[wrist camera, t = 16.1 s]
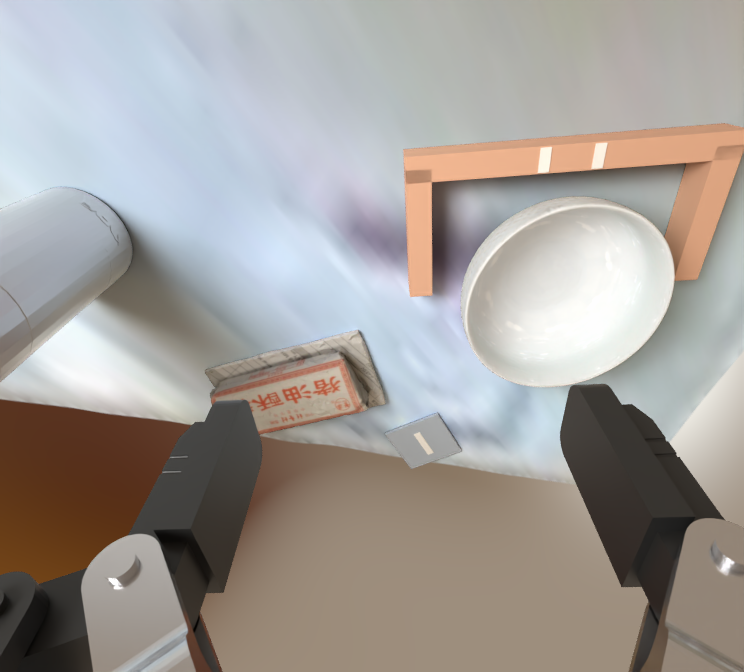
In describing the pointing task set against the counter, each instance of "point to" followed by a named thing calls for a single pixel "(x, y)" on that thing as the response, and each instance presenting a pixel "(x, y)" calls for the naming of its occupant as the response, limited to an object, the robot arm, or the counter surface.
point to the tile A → (423, 441)
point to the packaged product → (302, 382)
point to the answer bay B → (579, 153)
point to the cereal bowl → (566, 291)
